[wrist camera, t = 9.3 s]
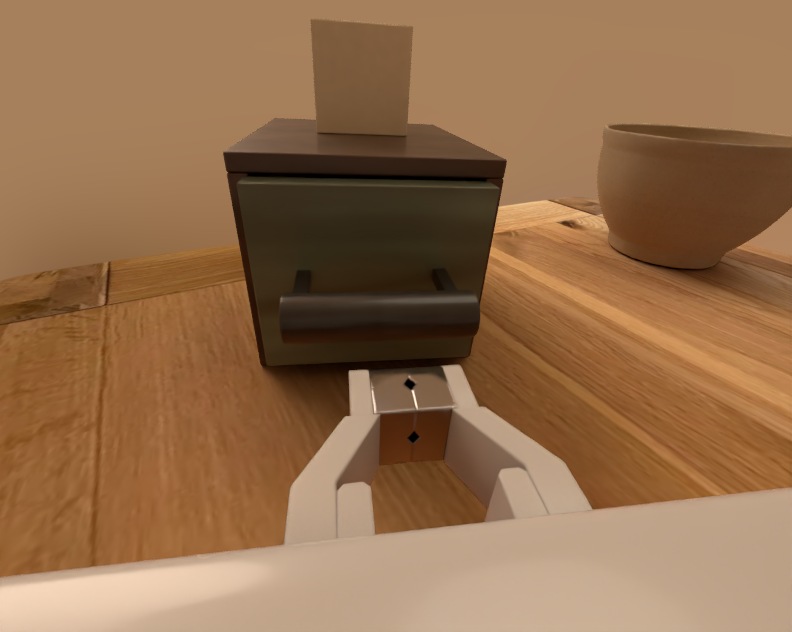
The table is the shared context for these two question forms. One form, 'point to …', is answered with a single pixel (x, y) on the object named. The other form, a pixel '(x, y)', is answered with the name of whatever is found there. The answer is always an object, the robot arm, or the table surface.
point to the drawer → (366, 264)
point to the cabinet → (351, 166)
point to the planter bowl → (690, 190)
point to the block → (361, 77)
